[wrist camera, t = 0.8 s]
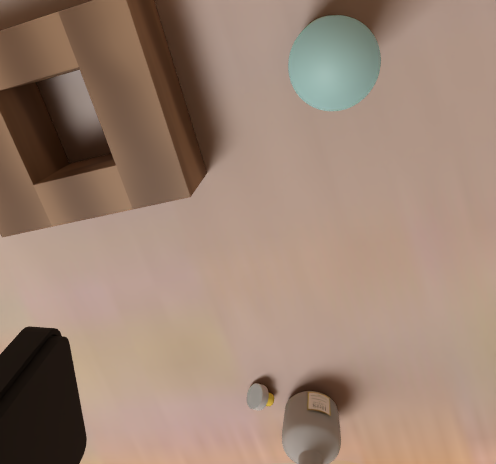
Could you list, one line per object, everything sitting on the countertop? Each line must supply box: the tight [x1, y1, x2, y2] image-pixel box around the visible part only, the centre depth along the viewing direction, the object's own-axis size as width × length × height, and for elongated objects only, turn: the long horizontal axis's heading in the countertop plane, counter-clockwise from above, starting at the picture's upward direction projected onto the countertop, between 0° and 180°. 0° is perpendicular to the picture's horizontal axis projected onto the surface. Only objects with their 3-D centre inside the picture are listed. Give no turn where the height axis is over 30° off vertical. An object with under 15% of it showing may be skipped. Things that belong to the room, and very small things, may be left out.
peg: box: [288, 15, 381, 111], centre depth 25 cm, size 4×4×10 cm
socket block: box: [0, 0, 207, 237], centre depth 31 cm, size 14×12×5 cm
